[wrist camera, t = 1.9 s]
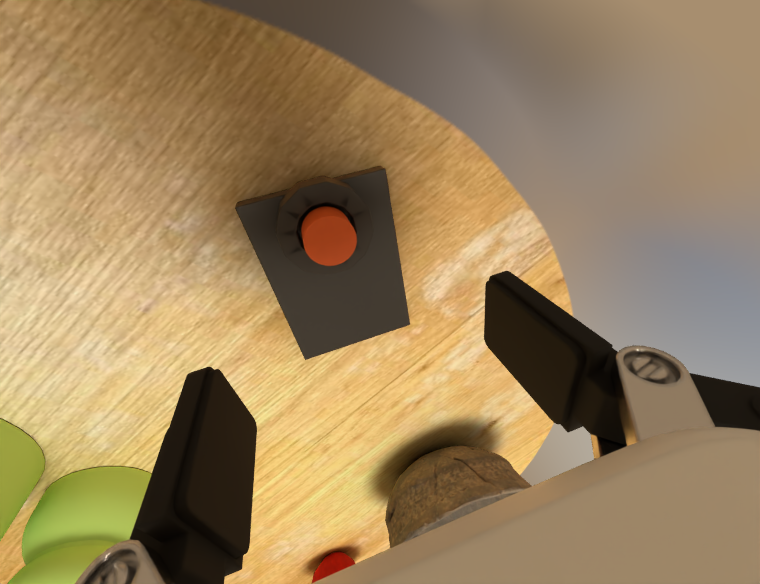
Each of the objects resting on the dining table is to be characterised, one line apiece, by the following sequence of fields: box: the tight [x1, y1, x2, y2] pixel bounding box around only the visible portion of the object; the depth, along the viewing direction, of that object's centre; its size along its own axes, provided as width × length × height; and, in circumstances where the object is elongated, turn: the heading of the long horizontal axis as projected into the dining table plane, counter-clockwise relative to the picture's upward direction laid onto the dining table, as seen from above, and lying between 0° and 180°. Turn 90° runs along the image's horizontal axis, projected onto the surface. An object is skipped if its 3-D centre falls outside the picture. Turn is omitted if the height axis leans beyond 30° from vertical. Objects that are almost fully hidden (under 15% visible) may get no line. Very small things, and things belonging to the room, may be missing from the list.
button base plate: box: [235, 166, 410, 360], centre depth 23 cm, size 15×10×3 cm
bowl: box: [385, 446, 532, 548], centre depth 41 cm, size 21×21×10 cm
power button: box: [301, 206, 357, 266], centre depth 19 cm, size 3×3×2 cm
